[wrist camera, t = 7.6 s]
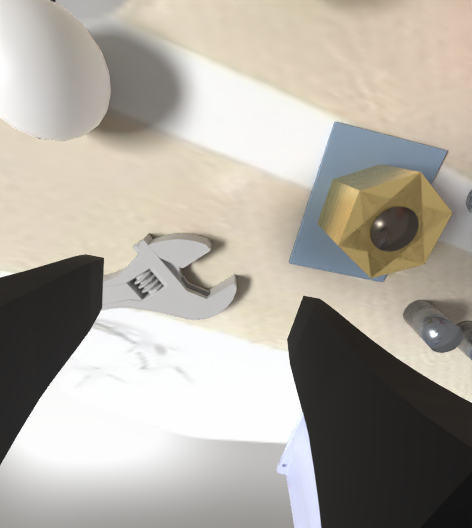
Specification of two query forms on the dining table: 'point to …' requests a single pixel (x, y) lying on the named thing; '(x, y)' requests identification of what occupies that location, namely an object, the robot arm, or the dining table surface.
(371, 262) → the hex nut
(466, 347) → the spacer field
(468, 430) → the robot arm
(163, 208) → the dining table surface
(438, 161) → the mat
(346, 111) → the dining table surface
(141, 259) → the adjustable wrench
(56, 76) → the white egg
